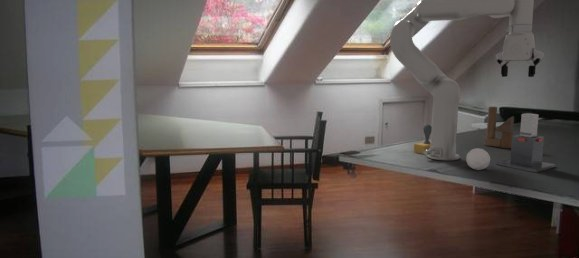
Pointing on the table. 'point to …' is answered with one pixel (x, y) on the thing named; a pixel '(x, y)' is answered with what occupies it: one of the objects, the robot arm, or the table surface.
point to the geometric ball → (478, 159)
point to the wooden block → (498, 130)
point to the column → (529, 125)
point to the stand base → (527, 154)
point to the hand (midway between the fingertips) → (517, 76)
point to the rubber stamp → (424, 145)
